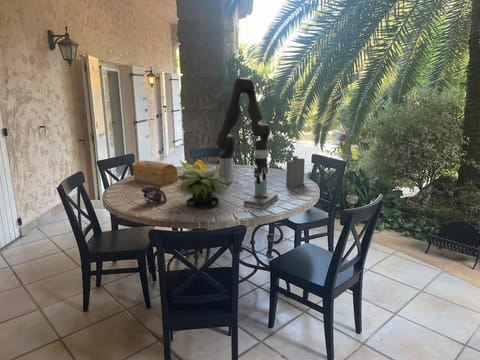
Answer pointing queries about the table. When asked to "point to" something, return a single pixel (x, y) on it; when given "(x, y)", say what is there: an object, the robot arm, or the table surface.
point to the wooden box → (155, 172)
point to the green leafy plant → (192, 173)
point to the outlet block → (260, 200)
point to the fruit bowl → (198, 167)
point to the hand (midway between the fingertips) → (261, 182)
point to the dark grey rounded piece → (153, 193)
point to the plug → (261, 186)
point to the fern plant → (202, 189)
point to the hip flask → (295, 172)
